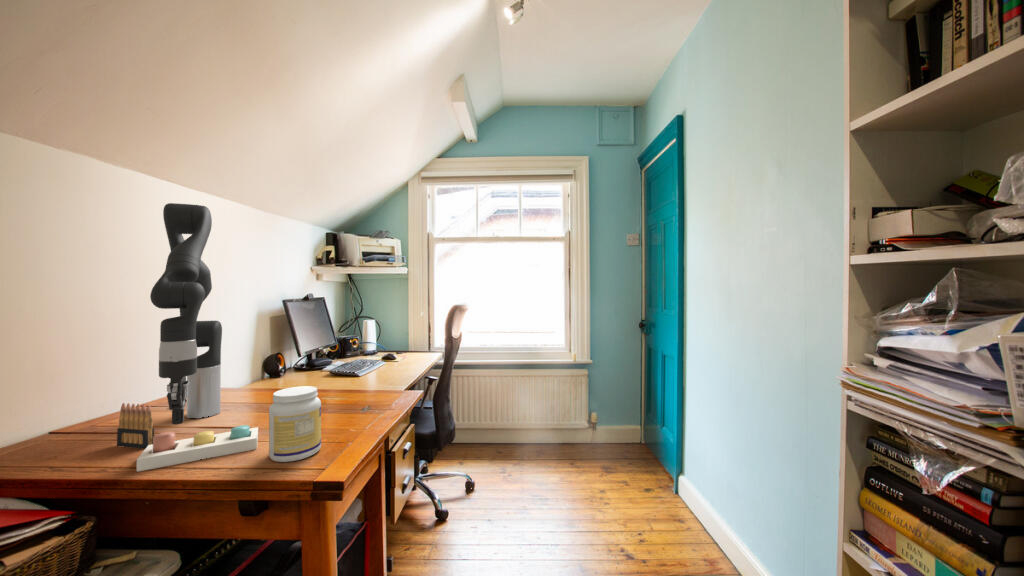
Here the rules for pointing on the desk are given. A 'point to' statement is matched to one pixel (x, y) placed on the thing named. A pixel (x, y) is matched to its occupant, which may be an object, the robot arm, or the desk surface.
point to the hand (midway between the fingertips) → (177, 423)
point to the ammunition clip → (135, 426)
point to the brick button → (164, 442)
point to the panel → (196, 450)
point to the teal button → (240, 432)
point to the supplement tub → (294, 424)
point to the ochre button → (204, 438)
